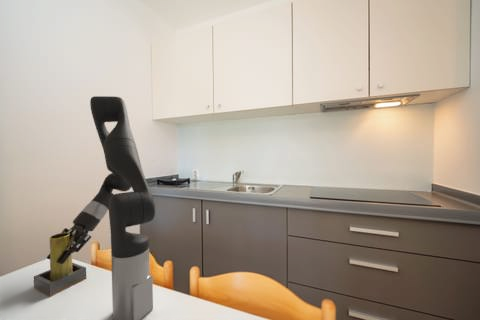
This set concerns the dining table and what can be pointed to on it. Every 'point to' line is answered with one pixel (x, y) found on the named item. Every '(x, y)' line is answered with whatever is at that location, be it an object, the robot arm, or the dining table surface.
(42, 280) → the square grey tray
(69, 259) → the vase
